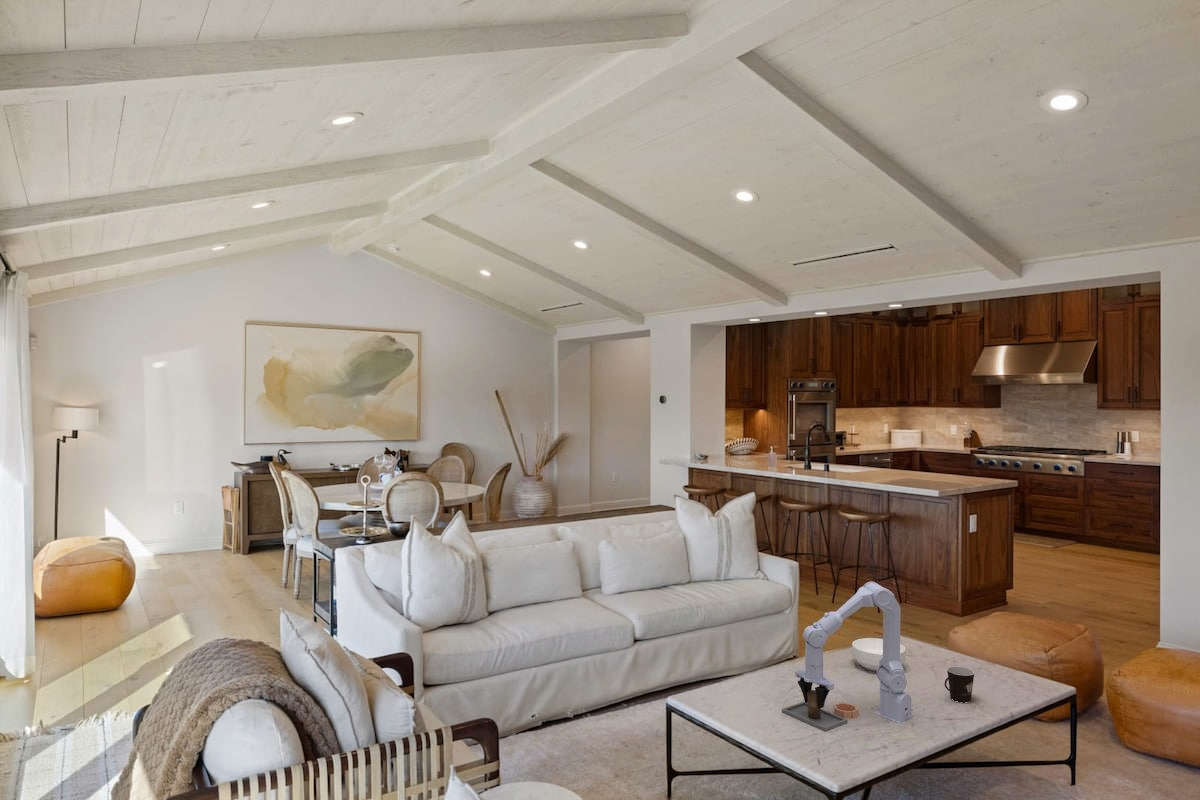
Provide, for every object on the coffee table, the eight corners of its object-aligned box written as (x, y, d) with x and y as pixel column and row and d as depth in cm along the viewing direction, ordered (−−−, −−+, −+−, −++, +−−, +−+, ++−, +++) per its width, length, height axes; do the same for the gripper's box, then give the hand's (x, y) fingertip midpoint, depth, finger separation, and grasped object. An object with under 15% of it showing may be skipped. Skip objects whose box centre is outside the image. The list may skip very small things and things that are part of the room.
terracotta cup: (864, 716, 258) (864, 708, 258) (848, 722, 253) (848, 714, 253) (843, 707, 265) (843, 700, 265) (827, 713, 260) (827, 706, 260)
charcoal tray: (847, 724, 252) (847, 719, 252) (825, 732, 245) (825, 728, 245) (803, 705, 266) (803, 701, 266) (781, 713, 260) (781, 709, 260)
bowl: (900, 680, 289) (900, 657, 289) (846, 670, 300) (846, 648, 299) (909, 664, 306) (909, 643, 306) (858, 655, 316) (858, 635, 316)
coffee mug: (966, 694, 276) (966, 666, 276) (979, 704, 267) (979, 675, 267) (934, 695, 275) (934, 666, 275) (945, 704, 267) (945, 675, 267)
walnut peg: (823, 717, 255) (822, 692, 255) (814, 720, 253) (813, 695, 253) (813, 713, 259) (813, 689, 259) (805, 716, 257) (804, 691, 257)
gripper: (788, 659, 259) (788, 700, 259) (823, 672, 247) (823, 715, 248) (803, 655, 263) (803, 695, 263) (838, 668, 251) (838, 710, 252)
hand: (814, 704), depth 256 cm, fingers open, 5 cm apart
